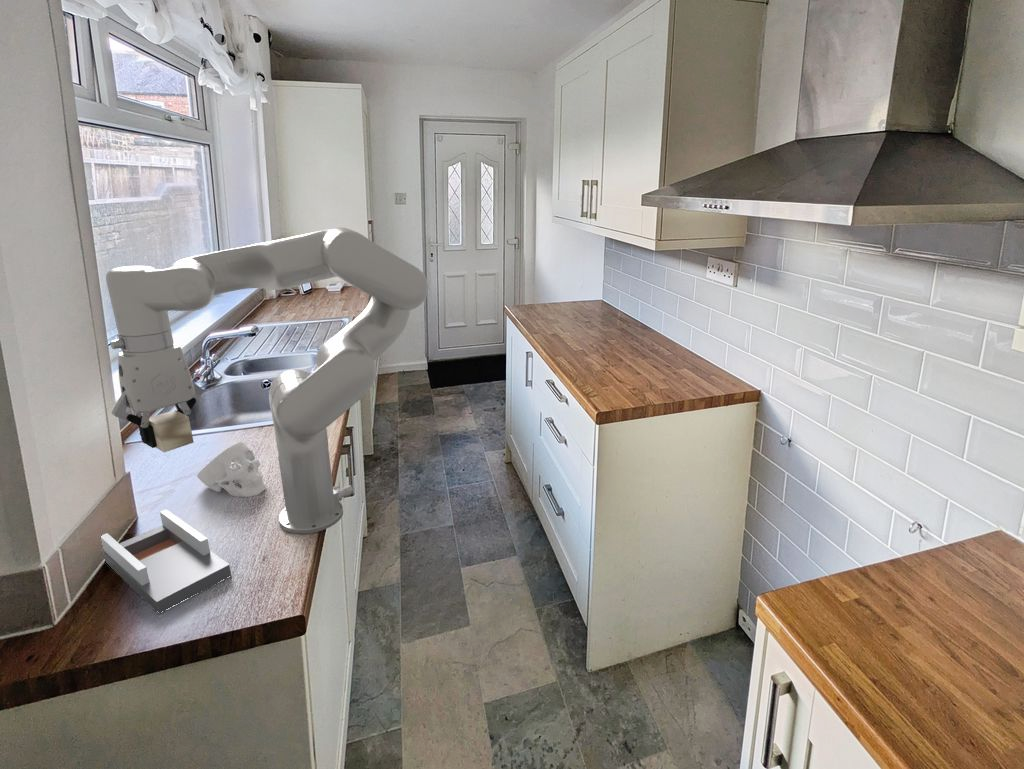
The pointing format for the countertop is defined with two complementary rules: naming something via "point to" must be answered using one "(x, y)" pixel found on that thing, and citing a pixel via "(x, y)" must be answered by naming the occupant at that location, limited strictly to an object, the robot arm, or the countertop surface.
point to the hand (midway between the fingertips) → (168, 439)
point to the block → (171, 430)
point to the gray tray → (166, 562)
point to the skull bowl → (234, 472)
